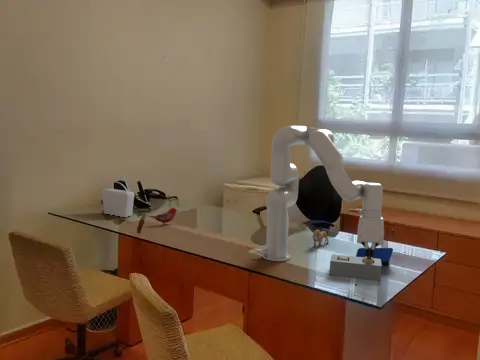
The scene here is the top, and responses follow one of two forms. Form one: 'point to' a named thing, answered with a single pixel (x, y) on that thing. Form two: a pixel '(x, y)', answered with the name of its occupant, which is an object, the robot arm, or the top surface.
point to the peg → (368, 260)
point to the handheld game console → (377, 254)
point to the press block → (355, 267)
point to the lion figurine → (319, 237)
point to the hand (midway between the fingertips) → (369, 257)
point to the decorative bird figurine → (165, 216)
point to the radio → (118, 201)
